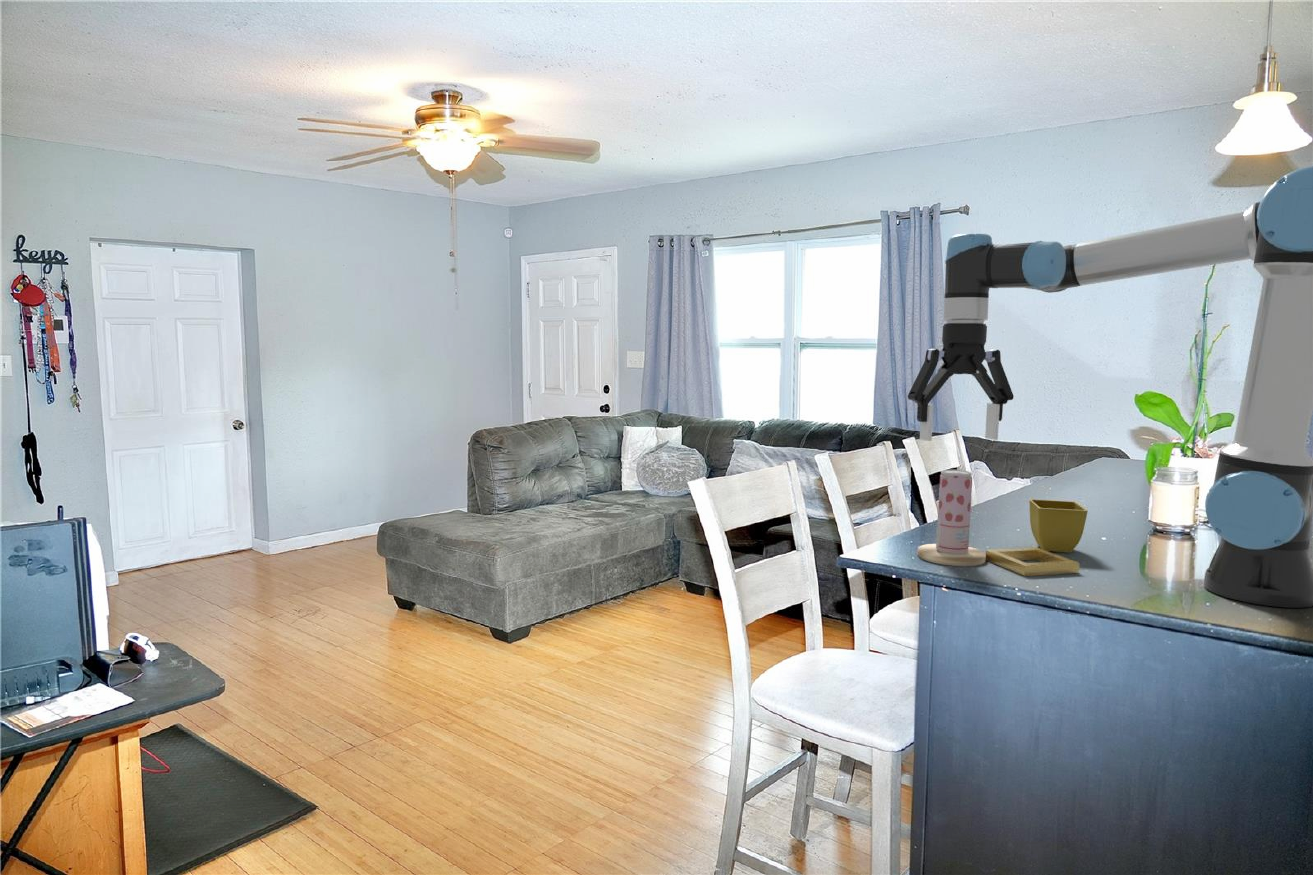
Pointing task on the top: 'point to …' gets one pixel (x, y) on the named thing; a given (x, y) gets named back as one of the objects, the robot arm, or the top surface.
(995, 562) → the square wooden tray
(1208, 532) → the top surface
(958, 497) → the pink strawberry drink can
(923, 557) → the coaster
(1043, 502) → the flower pot
